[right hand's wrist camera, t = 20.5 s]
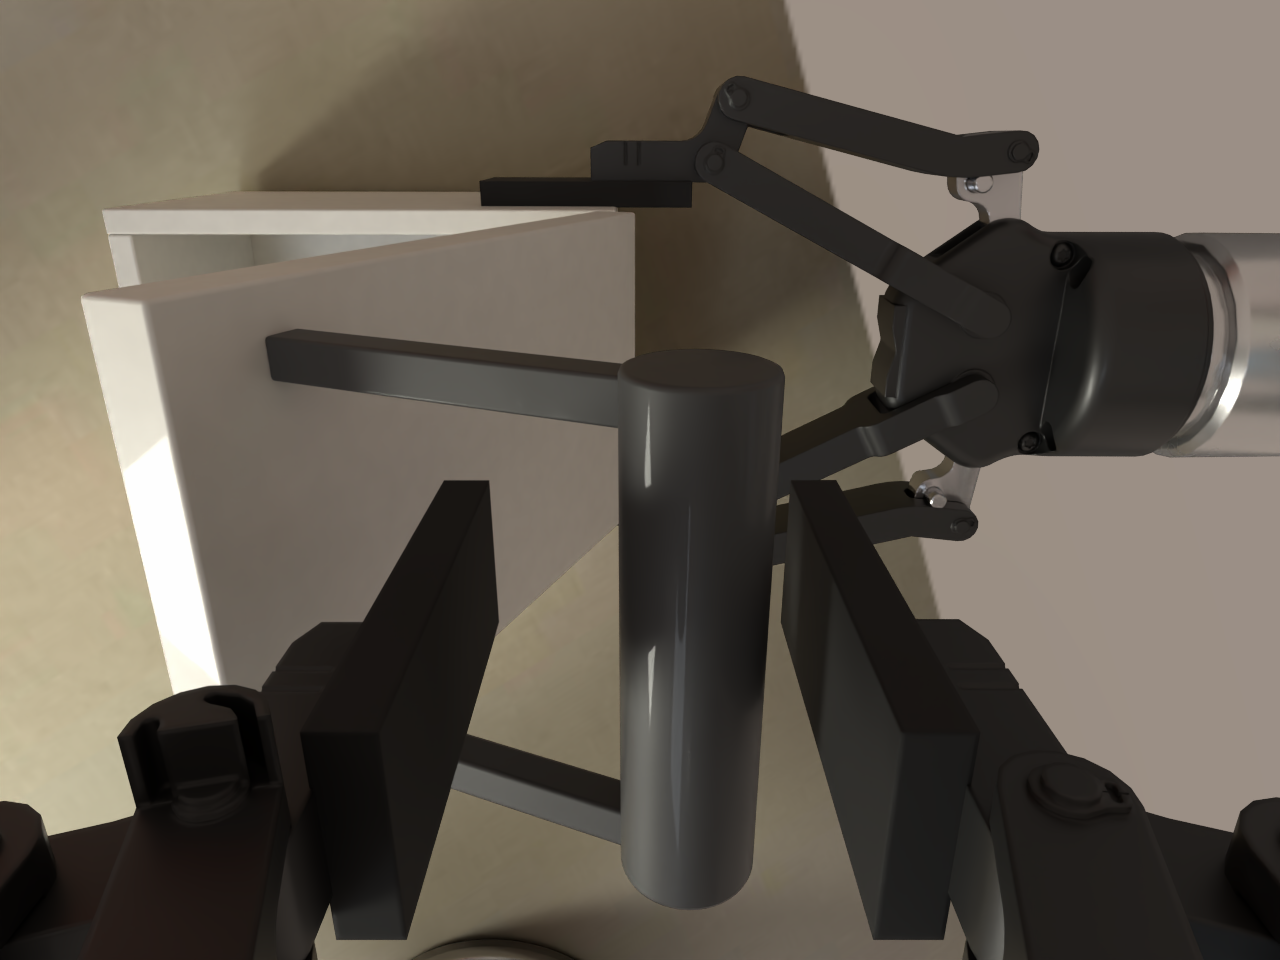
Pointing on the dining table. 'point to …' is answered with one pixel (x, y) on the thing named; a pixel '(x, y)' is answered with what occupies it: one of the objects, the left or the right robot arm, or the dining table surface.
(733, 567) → the lid
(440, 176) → the dining table surface
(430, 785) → the right robot arm
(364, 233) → the chest
